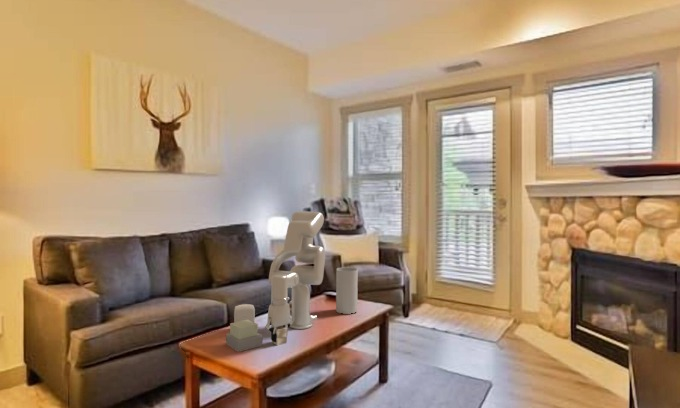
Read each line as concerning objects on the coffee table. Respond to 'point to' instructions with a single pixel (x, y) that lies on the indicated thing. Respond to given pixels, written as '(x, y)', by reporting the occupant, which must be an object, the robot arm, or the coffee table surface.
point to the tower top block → (243, 329)
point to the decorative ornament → (290, 306)
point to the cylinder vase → (346, 290)
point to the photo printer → (244, 313)
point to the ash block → (281, 335)
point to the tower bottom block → (243, 342)
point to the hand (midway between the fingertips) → (279, 339)
